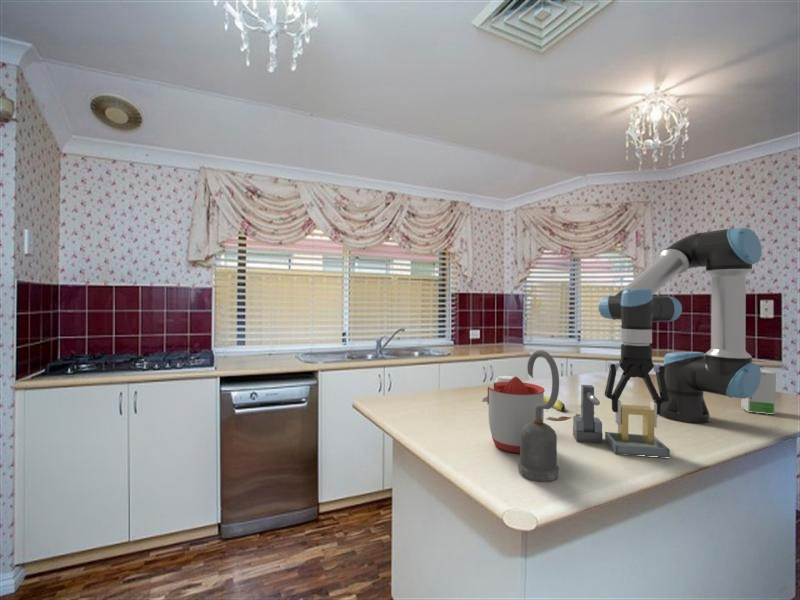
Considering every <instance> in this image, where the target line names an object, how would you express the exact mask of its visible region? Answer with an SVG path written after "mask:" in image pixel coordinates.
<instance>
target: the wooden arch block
mask: <svg viewBox="0 0 800 600" xmlns="http://www.w3.org/2000/svg"><path fill="white" fill-rule="evenodd" d="M629 415H636V416H642V435H643V440H644V441H645V442H646V443H647V444H648V445H654V436H655V427H654V409H652V408H651V407H650V405H637V404H635V405H634V404H622V403H621V425H618V424H617V433H618V438H619V440H620V441H621V442H623V443H628V434H629Z"/></svg>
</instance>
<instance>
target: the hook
mask: <svg viewBox="0 0 800 600" xmlns="http://www.w3.org/2000/svg"><path fill="white" fill-rule="evenodd" d="M539 357H541V358H542V357H543V358H544V359H545V361H546V362H547V363H548V365H549V368H550V370H551V371H550V372H551V393H550V396H549V397H550V399H549V401H548V402H547V403H542V404H538V405H537V406H536V408H535V419H534V422H530V423H527V424H526V425H525V426H523V427H522V429H521V432H520V453H519V460H518V461H517V466H518V467H517V468H518V473H519V474H520V475H521V476H522V477H524V478H526V479H528V480H530V481H531V480H532V481H535V482H540V483H541V482H543V483H546V482H553V481H555V480H557V479H558V478H559V477H558V476H559V471H560V467H559V466H558V464H557V459H558V456H557V455H558V454H557V453H558V450H557V446H558V443H557V442H558V441H557V440H558V438H557V437H558V436H557V433H556V431H555V429H554V428H552V426H551V425H549V424H547V423H545V422H544V420H543V421H542V409H544V410H551V409H552V407H553V406H554V404H555V402H556V400H557V399H558V398H559V391H560V375H559V369H558V366H557V363H556V361H555V359H554V358H553V356H552V355H551V354H550V353H549V352H548V351H545V350H541V349H540V350H539V349H538V350H536V351H534V352H533V353H532V354H531V355H530V357H529V358H528V361H527V374H528V375H529V376H530V377H531V378H532V379H533V378H534V375H533V374H534V364H535V361H536V360H537V358H539Z"/></svg>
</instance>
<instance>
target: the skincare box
mask: <svg viewBox="0 0 800 600" xmlns="http://www.w3.org/2000/svg"><path fill="white" fill-rule="evenodd" d="M760 370H761V380H760V384H759V386H758V388H757V390H756V392H755V393H754V394H753V395H752V396H750V397H749V398H745V399H741V398H740V399H741V400H740V401H741V402H740V403H741V404H740V405H741V406H740V408H741V409H742V408H743V409H745V410H746V411H752V412H765V413H775V414H776V394H777V392H776V389H777V386H776V385H777V383H776V382H777V372H774V371H771V370H769V369H768V370H766V369H760ZM743 409H742V410H743ZM745 410H744V411H745ZM746 411H745V412H746Z"/></svg>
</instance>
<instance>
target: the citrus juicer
mask: <svg viewBox="0 0 800 600" xmlns="http://www.w3.org/2000/svg"><path fill="white" fill-rule="evenodd" d="M545 391H546V390H545V388H544V387H542V386H540V385H537V384H533V383H530V382H529V383H528V382H523V381H522V379H520V378H519V377H518V376H516V377H513V378H512V379H511V380H510V381H509V382H496V383H495V382H493V388H492V387H490V386H487V395H486V396H485V397H483V398H482V400H481V402H482V403H486V402H487V405H488V423H489V424H488V425H489V431H490V435H491V438H492V441H493V443H494V446H495V447H497V448H498V449H499V450H503V451H506V452H509V453H517V454H520V432H521V429H522V427H523V426H525V425H526V424H527V423H530V422H534V419H535V408H536V406H537V405H538V404H542V403H544V396H545V393H544V392H545ZM544 413H545V409H542V421H543V422H544V416H545V414H544Z"/></svg>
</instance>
